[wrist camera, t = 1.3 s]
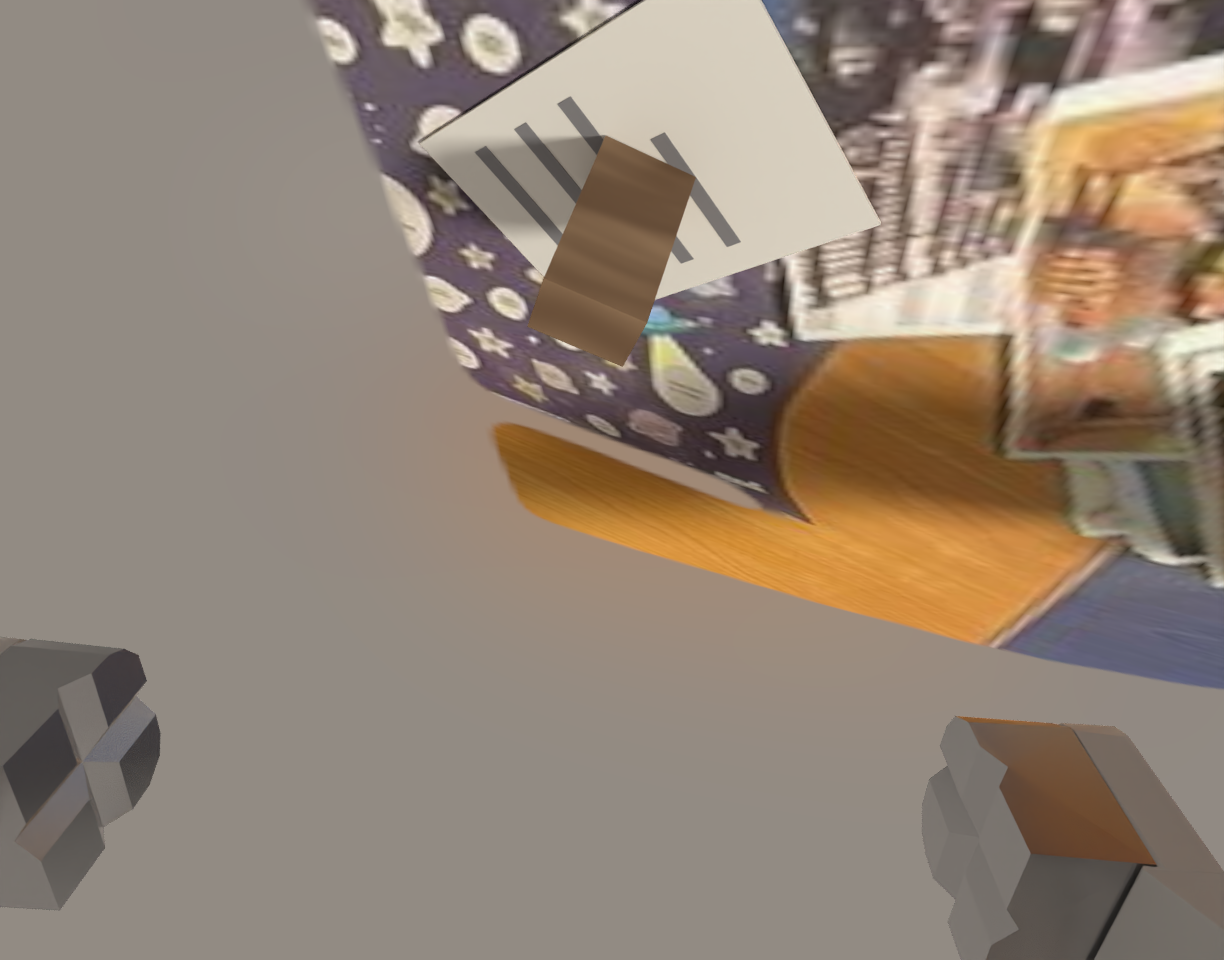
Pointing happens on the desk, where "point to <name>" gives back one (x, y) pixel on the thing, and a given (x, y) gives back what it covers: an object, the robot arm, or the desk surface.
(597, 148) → the letter
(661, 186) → the walnut block
